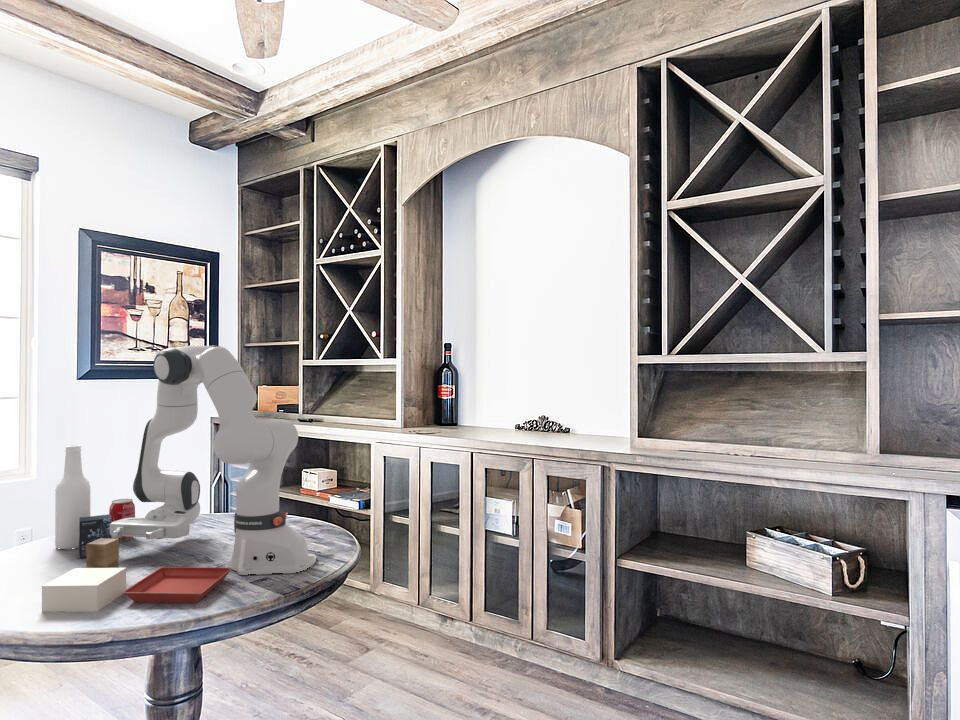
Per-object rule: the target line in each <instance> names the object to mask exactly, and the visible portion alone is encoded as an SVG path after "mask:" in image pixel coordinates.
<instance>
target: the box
mask: <svg viewBox="0 0 960 720" xmlns="http://www.w3.org/2000/svg"><path fill="white" fill-rule="evenodd" d="M110 523H112V518H111V515H110V514H109V513H108V514H100V515H90V517H80V518H79V548H78V554H79V555H78V557H79V559H85V558H87V544H88V543H90V542H93V541H95V540H97V539H100V538H106V539H111V537H112V536H111V535H110Z"/></svg>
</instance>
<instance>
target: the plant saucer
mask: <svg viewBox="0 0 960 720" xmlns="http://www.w3.org/2000/svg"><path fill="white" fill-rule="evenodd" d="M231 570H232V569H231V568H230V567H208V566H207V567H205V566H204V567H200V566H199V567H197V566H195V567H193V566H189V567H187V566H186V567H185V566H182V567H181V566H175V567H174V566H162V567H159V568H158V569H156V570H154V571H153V572H151V573H150V574H149V575H146V576H145V577H143V578H142V579H141V580H139V581H138V582H135V584H132V585H131V586H130V587H128V588H126V590H125V591H124V592H123V594H124V595H125V597H127V598H129V599H130V600H131V601H133V603H159V604H160V603H167V604H168V603H171V604H172V603H174V604H175V603H180V604H181V603H183V604H185V603H187V604H189V603H193V604H194V603H195V602H196V603H198V602H199V600H200V601H201V600H202V599H204V598H205V596H207V595H208V594H209V593H210V592H211V591H213V590H214V589H215V588H216V587H217V586H219V585H220V584H221V583H222V582H223V581H224V580H225V579H226V577H227V576H228V575H229V573H230V571H231ZM220 582H221V583H220ZM219 583H220V584H219ZM214 587H215V588H214ZM213 588H214V589H213ZM207 593H208V594H207ZM206 594H207V595H206Z"/></svg>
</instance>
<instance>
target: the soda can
mask: <svg viewBox="0 0 960 720" xmlns="http://www.w3.org/2000/svg"><path fill="white" fill-rule="evenodd" d="M108 514H110V515H111V518H112V522H114V521H117V520H120V519H124V518H136V505H135V503H134V502H133V499H132V498H119V499H114V500H112V501H111V504H110V505H109V507H108ZM132 538H133V537H129V536H122V537H119V538H113V536H112V537H111V539H119V543H121V542H126V541H130V540H131V539H132ZM120 541H121V542H120Z"/></svg>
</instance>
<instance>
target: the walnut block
mask: <svg viewBox="0 0 960 720" xmlns="http://www.w3.org/2000/svg"><path fill="white" fill-rule="evenodd" d="M119 558H120V542H119V539H106V538H100V539H97V540H95V541H93V542H90V543H88V544H87V557H86V568H120V559H119Z"/></svg>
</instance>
